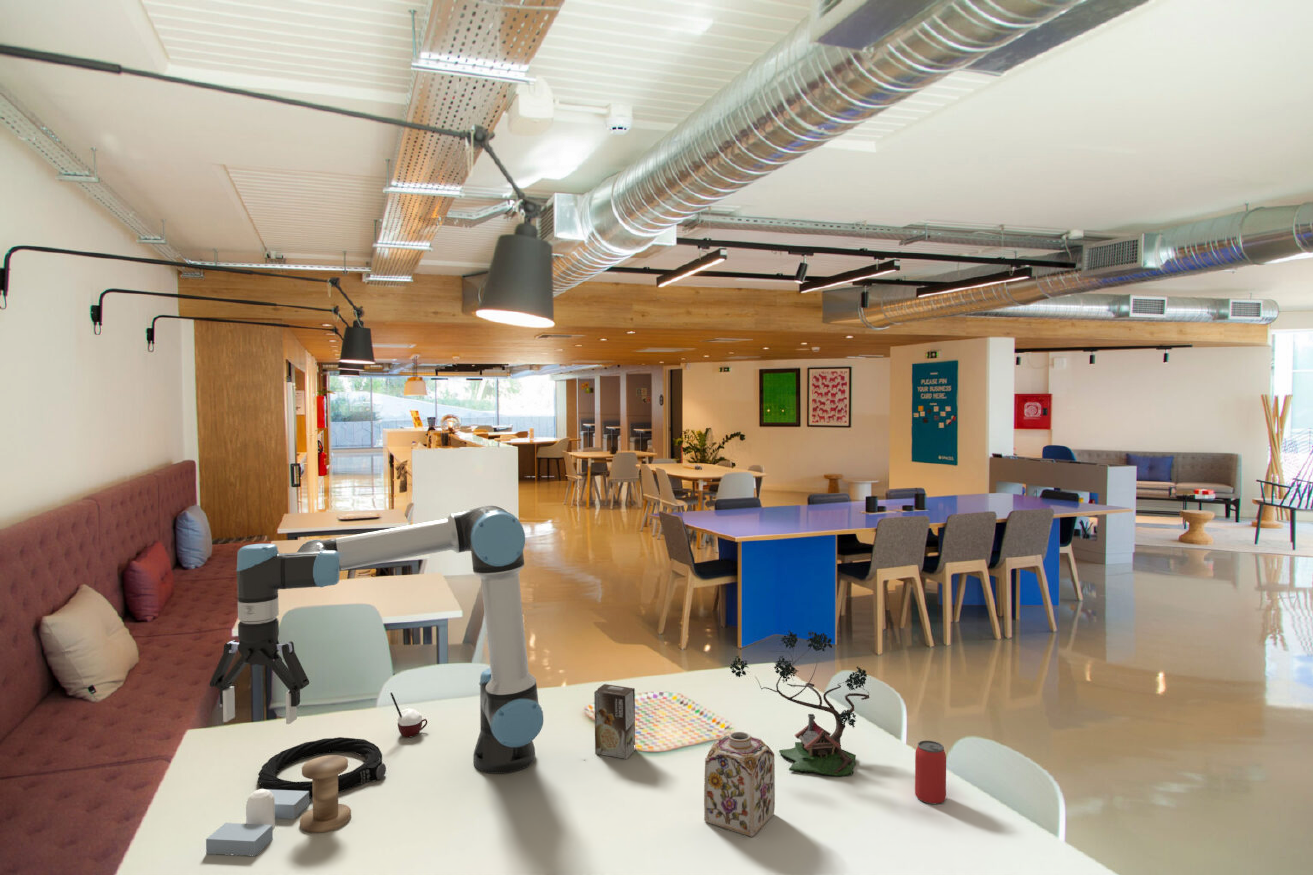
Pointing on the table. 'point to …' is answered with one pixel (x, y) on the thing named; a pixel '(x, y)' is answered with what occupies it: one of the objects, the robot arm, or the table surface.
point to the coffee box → (614, 721)
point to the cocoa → (409, 721)
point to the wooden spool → (325, 795)
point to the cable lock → (345, 781)
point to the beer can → (930, 772)
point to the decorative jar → (739, 783)
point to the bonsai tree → (816, 742)
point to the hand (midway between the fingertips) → (260, 720)
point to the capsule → (261, 808)
